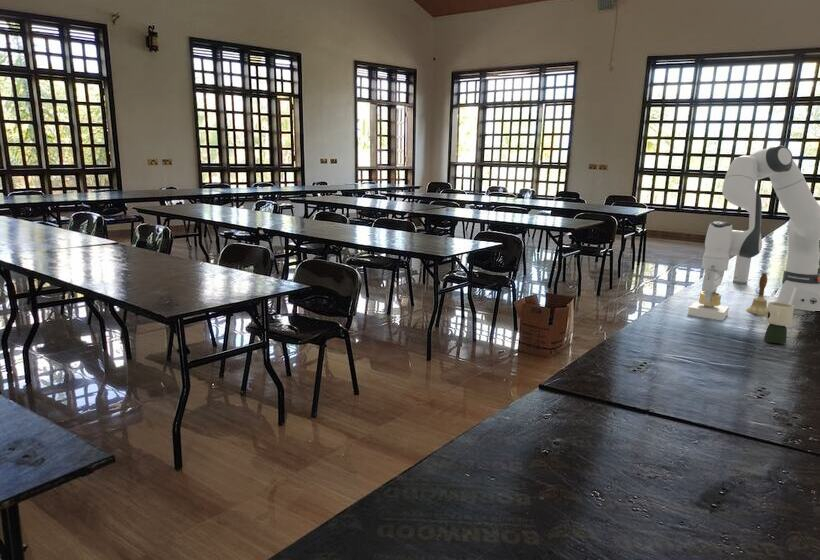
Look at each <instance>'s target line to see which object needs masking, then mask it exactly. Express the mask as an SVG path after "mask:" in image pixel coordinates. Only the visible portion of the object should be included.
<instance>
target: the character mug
mask: <svg viewBox="0 0 820 560" xmlns="http://www.w3.org/2000/svg"><path fill="white" fill-rule="evenodd" d="M794 311H795V309H794V306H793V305H790V304H786V303H780V302H775V301H769V302H767V314H766V315H765V322H766V323H769V324H768V325H767V328H766V330H765V334H764V337H763V340H764V341H765V342H768V343H772V344H773V345H775V344H783V345H784V344H786V343H787V339H788V338H787V337H788V336H787V331H788V329H787V326H788V327H789V326H791V325H792V321H793V315H794Z"/></svg>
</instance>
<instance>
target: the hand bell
mask: <svg viewBox="0 0 820 560" xmlns="http://www.w3.org/2000/svg"><path fill="white" fill-rule="evenodd" d="M767 284H768V275H767V273H766V272H762V274H761V276H760V278H759V282H758V285H759V290H758V296H757V297H755V298H753V300H752V303H751V305H750V306H749V307H747V308H746V309H745V310H746V312H747V313H750V314H754V315H759V316H766V314H767V309H768V302H767V299H766V298H765V297H764V295H765V294H764V293H765V288H766V286H767Z"/></svg>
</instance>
